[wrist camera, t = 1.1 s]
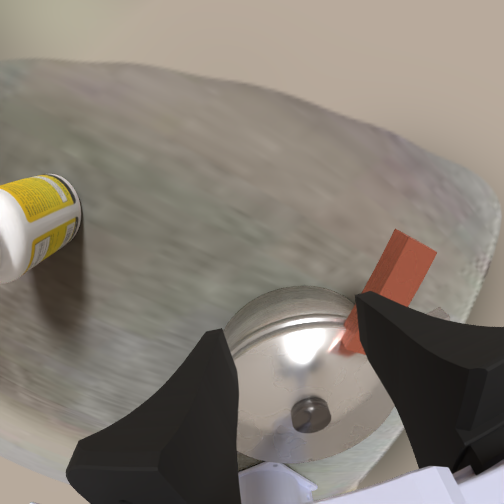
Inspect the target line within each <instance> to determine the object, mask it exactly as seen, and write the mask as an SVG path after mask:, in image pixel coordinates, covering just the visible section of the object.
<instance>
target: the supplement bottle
mask: <svg viewBox="0 0 504 504" xmlns="http://www.w3.org/2000/svg"><path fill="white" fill-rule="evenodd" d="M80 221H81V206H80V201H79V198H78V196H77V193H76V191H75V190H74V188H73V187H72V185H71V184H70V183H69V182H68V181H67V180H66V179H64V178H63V177H61V176H58V175H55V174H43V175H39V176H34V177H30V178H26V179H22V180H18V181H14V182H11V183H7V184H4V185H0V283H9V282H12V281H14V280H16V279H17V278H19V277H20V276H22V275H23V274H24V273H26V272H27V271H29V270H30V269H31V268H33V267H34V266H36V265H37V264H38V263H40V262H41V261H43V260H44V259H46V258H47V257H49V256H50V255H52V254H53V253H54V252H56V251H57V250H59V249H60V248H62V247H64V246H65V245H66V244H67V243H69V242H70V241H71V240H72V239H73V238H74V236H75V235H76V233H77V231H78V229H79V226H80Z"/></svg>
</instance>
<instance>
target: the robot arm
mask: <svg viewBox="0 0 504 504" xmlns="http://www.w3.org/2000/svg"><path fill="white" fill-rule="evenodd" d="M355 300H356V308H357V318H358V327H359V338H360V342H361V344H362V347H363V349H364V352H365V354H366V356H367V359H368V361H369V363H370V364H371V366H372V368H373V369H374V371H375V373H376V374H377V376H378V378H379V379H380V381H381V383H382V384H383V386H384V388H385V389H386V391H387V393H388V394H389V396H390V398H391V399H392V401H393V403H394V405H395V407H396V409H397V411H398V413H399V416H400V418H401V420H402V423H403V425H404V428H405V430H406V433H407V435H408V438H409V441H410V443H411V446H412V449H413V452H414V454H415V458H416V460H417V464H418V467H419V469H418V470H414V471H410V472H408V473H405V474H403V475H400V476H397V477H395V478H392V479H389V480H386V481H383V482H380V483H377V484H374V485H371V486H368V487H365V488H361V489H358V490H355V491H351V492H348V493H344V494H340V495H337V496H333V497H329V498H324V499H320V500H316V501H313V498H312V493H311V491H314V490H316V489H317V488H318V487H317V485H316V484H314V483H313V482H311V481H309V480H308V479H306V478H304V477H303V476H301V475H300V474H298V473H296V472H295V471H293V470H292V469H290V468H289V467H287V466H286V465H284V464H283V463H274V462H267V461H265V462H263V463H261V464H258V465H256V466H253V467H251V468H248V469H246V470H243V471H240V472H238V464H237V425H238V407H239V384H238V374H237V369H236V366H235V363H234V360H233V358H232V355H231V352H230V349H229V347H228V344H227V341H226V338H225V335H224V332H223V330H222V328H221V329H217V330H212V331H207V332H206V333H205V334H204V335H203V336H202V338H201V339H200V341H199V342H198V343H197V345H196V346H195V348H194V349H193V350H192V352H191V353H190V354H189V356H188V357H187V358H186V360H185V361H184V362H183V363H182V365H181V366H180V367H179V368H178V369H177V371H176V372H175V373H174V374H173V375H172V376H171V378H170V379H169V380H168V381H167V382H166V383H165V384H164V385H163V386H162V387H161V388H160V389H159V390H158V391H157V392H156V393H155V394H154V395H153V396H151V397H150V398H149V399H148V400H147V401H145V402H144V403H143V404H141V405H140V406H139V407H138V408H136V409H135V410H134V411H132V412H131V413H130V414H128V415H127V416H125V417H124V418H122V419H120V420H119V421H117V422H115V423H114V424H112V425H110V426H109V427H107V428H105V429H103V430H101V431H99V432H97V433H95V434H93V435H90V436H88V437H86V438H84V439H82V440H79V441H78V444H77V446H76V448H75V451H74V453H73V455H72V458H71V460H70V462H69V465H68V467H67V469H66V477H67V479H68V481H69V483H70V485H71V486H72V487H73V488H74V489H75V490H76V491H77V492H78V493H79V494H80V495H81V496H82V497H84V498H85V499H86V500H87V501H88V502H89V503H90V504H504V327H485V326H476V325H468V324H462V323H457V322H452V321H448V320H444V319H440V318H436V317H433V316H430V315H427V314H424V313H422V312H419V311H416V310H413V309H411V308H409V307H406V306H404V305H401V304H399V303H397V302H395V301H393V300H390V299H388V298H386V297H384V296H382V295H379V294H377V293H375V292H372V291H368V292H365V293H361V294H358V295H355ZM30 504H38V503H34V502H30Z"/></svg>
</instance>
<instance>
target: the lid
mask: <svg viewBox="0 0 504 504" xmlns="http://www.w3.org/2000/svg"><path fill="white" fill-rule="evenodd" d="M436 254H437V252H436V251H434V250H432V249H431V248H429V247H428V246H426V245H424V244H423V243H421V242H419V241H417V240H416V239H414V238H412V237H410V236H408V235H406V234H404V233H403V232H401V231H399V230H397V229H395V230H394V232H393V234H392V236H391V238H390V240H389V242H388V244H387V246H386V248H385V250H384V252H383V254H382V256H381V258H380V260H379V262H378V264H377V266H376V267H375V269H374V271H373V273H372V275H371V277H370V279H369V281H368V282H367V284H366V286H365V288H364V290H363V291H362V293H365V292H368V291H372V292H375V293H377V294H379V295H382V296H384V297H386V298H388V299H390V300H393V301H395V302H397V303H399V304H401V305H404V306H406V307H408V305H409V304H410V302H411V300H412V298H413V297H414V295H415V293H416V291H417V290H418V288H419V286H420V284H421V282H422V281H423V279H424V277H425V275H426V273H427V271H428V269H429V268H430V266H431V264H432V262H433V260H434V258H435V256H436ZM232 358H233V360H234V363H235V366H236V369H237V374H238V384H239V407H238V425H237V451H238V452H240V453H242V454H244V455H247V456H249V457H252V458H255V459H258V460H262V461H267V462H274V463H303V462H310V461H315V460H320V459H324V458H327V457H330V456H333V455H336V454H338V453H341V452H343V451H345V450H347V449H349V448H351V447H353V446H355V445H356V444H358V443H360V442H361V441H363V440H364V439H366V438H367V437H368V436H370V435H371V434H372V433H373V432H374V431H375V430H376V429H377V428H378V427H379V426H380V425H381V424H382V423H383V422H384V421H385V420H386V418H387V417H388V416H389V414H390V413H391V411H392V409H393V408H394V406H395V405H394V403H393V401H392V399H391V398H390V396H389V394H388V393H387V391H386V389H385V388H384V386H383V384H382V383H381V381H380V379H379V378H378V376H377V374H376V373H375V371H374V369H373V368H372V366H371V364H370V363H369V361H368V359H367V356H366V354H365V352H364V349H363V347H362V344H361V342H360V338H359V327H358V318H357V308H356V304H355V306H354V307H353V309H352V311H351V313H350V314H349V316H348V318H347V319H346V321H345V323H341V322H334V321H315V322H305V323H299V324H294V325H289V326H286V327H283V328H280V329H276V330H274V331H271V332H269V333H267V334H264V335H262V336H260V337H258V338H256V339H255V340H253V341H251V342H249V343H248V344H246V345H245V346H244V347H242V348H241V349H239V350H238V351H237V352H236V353H235V354H234V355H233V356H232Z"/></svg>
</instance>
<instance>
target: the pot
mask: <svg viewBox="0 0 504 504" xmlns="http://www.w3.org/2000/svg"><path fill="white" fill-rule="evenodd" d="M354 306H355V304H354V303H352V302H351V301H350V300H349V299H347V298H346V297H344V296H343V295H341V294H339V293H337V292H335V291H332V290H329V289H325V288H321V287H315V286H292V287H286V288H281V289H277V290H274V291H271V292H268V293H266V294H264V295H261V296H259V297H257V298H256V299H254V300H252V301H251V302H249V303H248V304H246V305H245V306H244V307H242V308H241V309H240V310H239V311H238V312H237V313H236V314H235V315H234V316H233V317H232V319H231V320H230V321H229V322H228V324H227V325H226V327H225V329H224V331H223V332H224V335H225V338H226V341H227V344H228V347H229V349H230V352H231V355H232V356H233V355H234V354H235V353H236V352H237V351H238V350H239V349H241V348H242V347H244V346H245V345H246V344H248V343H249V342H251V341H253V340H255V339H256V338H258V337H260V336H262V335H264V334H267V333H269V332H271V331H274V330H276V329H280V328H283V327H286V326H289V325H294V324H299V323H305V322H315V321H334V322H341V323H345V321H346V319H347V318H348V316H349V314H350V313H351V311H352V309H353V307H354ZM427 315H430V316H433V317H436V318H440V319H444V320H448V321H450V317H449V315H448V314H447V313H446V312H445V311H444V310H442V309H441V308H440V307H439V308H437V309H435V310H433V311H431V312H429V313H427Z"/></svg>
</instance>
